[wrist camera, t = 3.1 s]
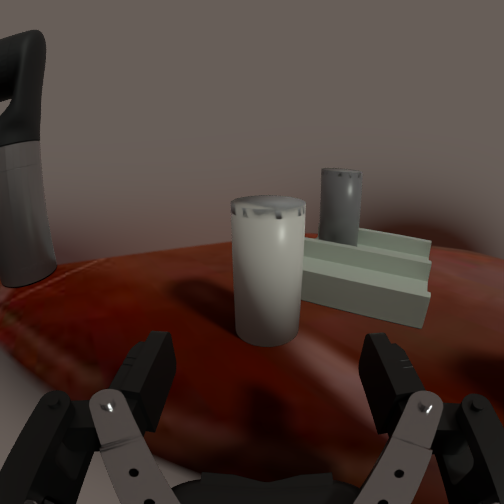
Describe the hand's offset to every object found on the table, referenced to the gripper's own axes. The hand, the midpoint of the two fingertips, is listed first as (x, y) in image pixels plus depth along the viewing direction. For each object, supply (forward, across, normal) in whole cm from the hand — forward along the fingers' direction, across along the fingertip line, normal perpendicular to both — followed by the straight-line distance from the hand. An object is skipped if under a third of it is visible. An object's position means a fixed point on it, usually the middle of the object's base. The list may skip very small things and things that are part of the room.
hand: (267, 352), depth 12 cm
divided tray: (+21, -10, +6) cm, 24 cm away
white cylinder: (+10, 0, +6) cm, 12 cm away
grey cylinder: (+26, -9, +5) cm, 28 cm away
